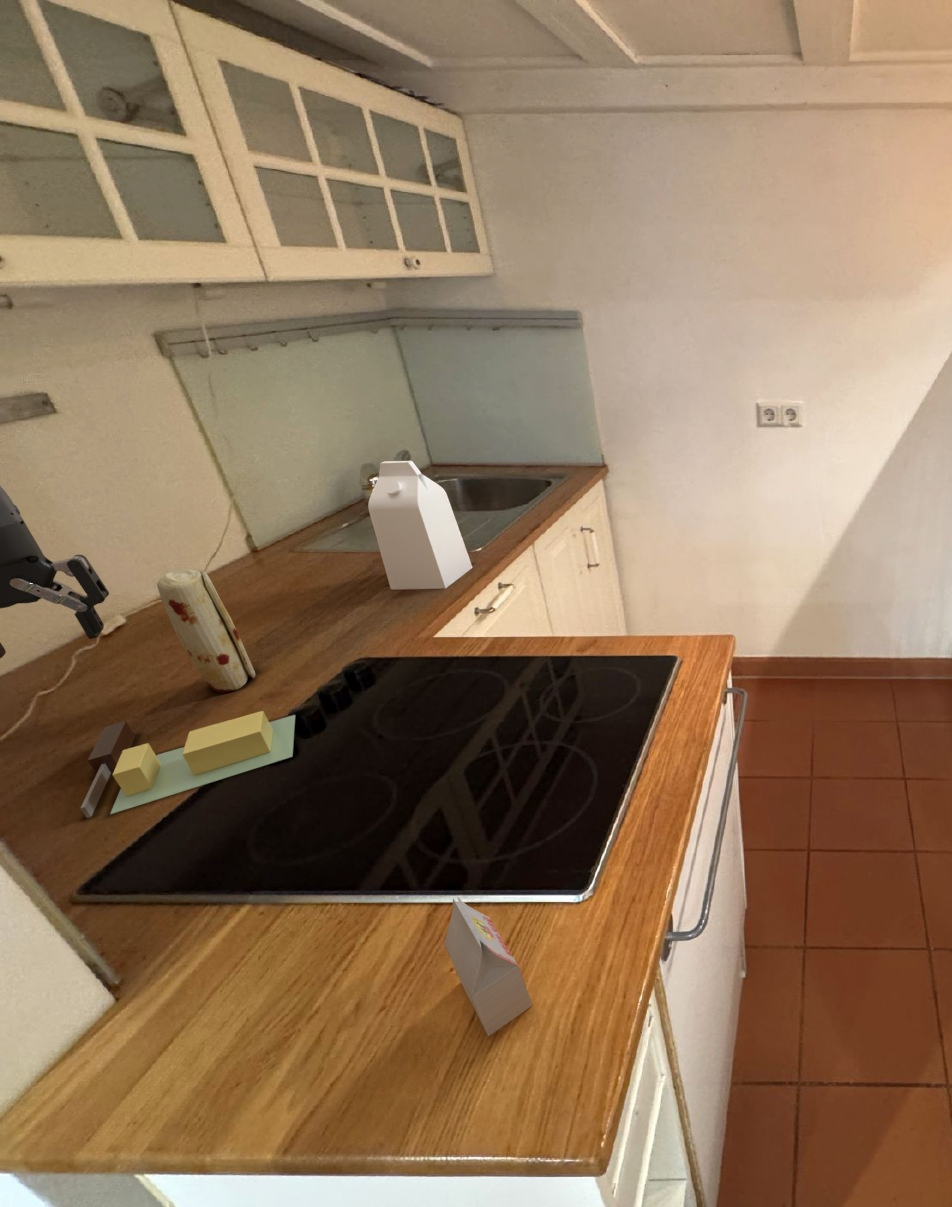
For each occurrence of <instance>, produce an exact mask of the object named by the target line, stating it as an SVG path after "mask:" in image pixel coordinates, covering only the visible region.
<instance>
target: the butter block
mask: <svg viewBox="0 0 952 1207" xmlns="http://www.w3.org/2000/svg"><path fill="white" fill-rule="evenodd" d="M269 722H270V721H269V719H268V717H267V715H266V714H265V711H264V710H260V711H257V712H253V713H250V714H247V715H242V716H240V717H239V716H238V717H236V718H235V717H234V718H232V719H229V720H225V721H221V722H217V723H214V724H210V725H207V726H203V727H200V728H196V729H193V730H190V731H188V734H187V737H186V740H185V744H184V746H183V747H184V750H183V753H182V755H183V757H184V758H185V760H186V762H187V764H188V765H189V767H190V769H191V771H192V772H193V774H194V775H197V774H201V773H204V772H207V771H210V770H214V769H217V768H220V767H223V766H227V765H230V764H233V763H236V762H239V761H243V760H246V759H249V758H252V757H256V756H259V755H262V754H265V753H269V752H270V751H271V742H272V734H273V730H272V728H271V726H270V723H269Z"/></svg>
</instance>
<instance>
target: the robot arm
mask: <svg viewBox="0 0 952 1207" xmlns="http://www.w3.org/2000/svg"><path fill="white" fill-rule="evenodd" d="M57 572H62V573H64V574H65V575H66V576H68V577H70V578H71V577H72V578H75V580H76V581H77V582H78V584H79V585H80V587H81V589H82V590H83V591H84V593H85V594H86V595H85V594H83V593H80V592H78V591H76V590H74V589H73V588H72V587H70V586H69V585H67V584H64V583H62V582H60V581H58V580H56V579H55V577H56V575H57ZM109 595H110V591H109V589H108V588H107V587H106V586H105V584H104V582H103V581H102V579H101V578H100V576H99V575H98V573H97V572H96V570H95V569H94V567H93V565H92V564H91V563H90V561H89V560H88V558H87V557H86V556H85V555H83V554H75V555H73V556H72V557H71V558H67V559H61V560H56V561H52V560H50V559H49V558H47V557H46V556H45V554H44V553H43V551H42V548H40V545H39V544H38V542H37V540H36V539H35V537H34V535H33V534H32V532H31V530H30V529H29V527H28V525H27V524H26V522H25V520H24V519H23V517H22V515H21V511H20V510H19V508H18V506H17V505H16V504H15V503H14V502H13V500H12V498H11V497H10V496H9V494H8V493H7V491H6V490H5V489H4V488H3V487H2V485H0V609H5V608H10V607H13V606H15V605H19V604H31V603H37V602H39V601H40V600H41V599H43V600H45V601H47V602H50V603H52V604H56V605H62V606H63V607H66V608H68V609H71V610H73V611H76V612H75V613H74V616H75V618H76V620H77V621H78V623H79V624H80V626H81V629H83V632H84V633H85V635H86V636H87V638H88V639H89V640H91V639H92V640H93V639H96V638H97V639H98V638H99V636H100V635H101V633H102V632H103V630H104V627H105V624H104V622H103V620H102V618H101V617H100V615H99V613H98V612H97V610H96V608H95V606H96V605H98V604H99V605H100V604H102V603H104V602H105V601H106V599H107V598H108V596H109ZM5 654H6V648H5V647H4V645H3V644H2V643H1V642H0V659H2V658H3V657H4V656H5Z"/></svg>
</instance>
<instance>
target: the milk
mask: <svg viewBox="0 0 952 1207" xmlns="http://www.w3.org/2000/svg"><path fill="white" fill-rule="evenodd" d="M378 476H379V477H378V478H377V480H376V483H375V485H374V487H373V489H372V492H371V494H370V496H369V499H368V503H367V504H368V505H367V509H368V513H369V516H370V520H371V524H372V528H373V531H374V534H375V538H376V542H377V545H378V549H379V553H380V556H381V560H382V563H383V567H384V570H385V574H386V578H387V581H388V585H389V588H390V590H392V591H393V590H394V591H395V590H438V589H439V590H441V589H442V590H443V589H448V588H449V587H450V586H451V585H452V584H454V583H455V582H456V581H458V580H459V579H460V578H462V577H463V576H464V575H465V574H467V573H468V572H469V571H471V570H472V569H473V565H472V562H471V559H470V557H469V556H470V555H469V553H468V550H467V548H466V545H465V542H464V539H463V537H462V534H461V531H460V530H461V529H460V528H459V525H458V522H457V519H456V516H455V514H454V510H453V508H452V505H451V502H450V499H449V497H448V493H447V492H446V490H445V489H444V487H442V486H441V485H440V484H438V483H436V482H435V481H433V480H432V479H431V478H429V477H427V476H426V475H424V474H422V472H421V471H420V470H419V468H418V466H416V464H415V463H414V462H413V460H389V461H387V460H386V461H382V462H379V474H378Z"/></svg>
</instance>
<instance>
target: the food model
mask: <svg viewBox="0 0 952 1207" xmlns="http://www.w3.org/2000/svg"><path fill="white" fill-rule="evenodd" d="M156 587H157V590H158V593H159V596H160V599H161V601H162V604H163V606H164V609H165V611H166V614H167V615H166V616H167V618H168V620H169V622H170V624H171V626H172V628H173V630H174V632H175V634H176V636H177V639H178V640H179V643H180V645H181V647H182V649H183V650H184V652H185V653H186V655H187V657H188V658H189V659H190V661H191V663H192V664H193V666H194V668H196V670H197V671H198V672H199V673H200V674H201V676H202V677H203V678H204V679H205V681H206V682H207V684H208V685H209V686H210V688H211V689H212V690H213V691H215V692H216V693H219V694H227V693H230V692H233V691H237V690H239V689H241V688H242V687H243V686H245V684H246V683H247V681H248V679H249V676H250V678H252V679H255V677H256V672H255V669H254V667H253V664H252V662H251V660H250V657H249V655H248V653H247V650H246V648H245V646H244V644H243V641H242V639H241V636H240V634H239V632H238V630H237V627H236V626H235V623H234V622H233V619H232V617H231V615H230V613H229V611H228V610H227V608H226V606H225V605H224V603H223V601H222V599H221V598H220V595H219V594H218V591H217V590H216V588H215V586H214V584H213V582H212V580H211V578H210V576H209V574H208V573H207V572H206V571H205V570H203V569H200V568H199V569H197V568H194V569H177V570H173V571H168V572H166V573H165V574H164V575H162V576H161V577H160V578H159V579H158V581H157V583H156Z"/></svg>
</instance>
